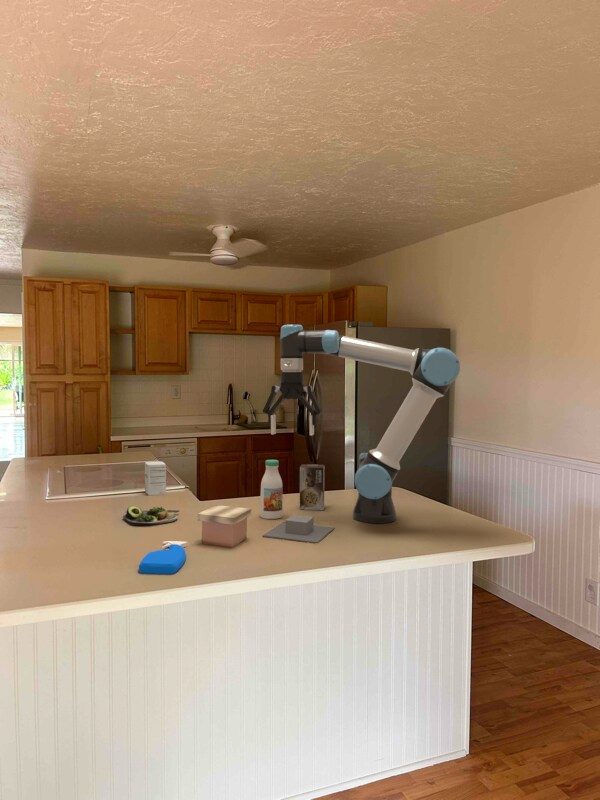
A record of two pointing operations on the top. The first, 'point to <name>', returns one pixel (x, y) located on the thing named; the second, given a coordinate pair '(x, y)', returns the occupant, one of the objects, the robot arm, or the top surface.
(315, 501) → the coffee box
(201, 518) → the lid
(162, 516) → the salad plate
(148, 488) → the supplement box
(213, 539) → the open box
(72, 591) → the top surface
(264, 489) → the milk bottle
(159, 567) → the spray bottle
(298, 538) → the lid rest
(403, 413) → the robot arm
